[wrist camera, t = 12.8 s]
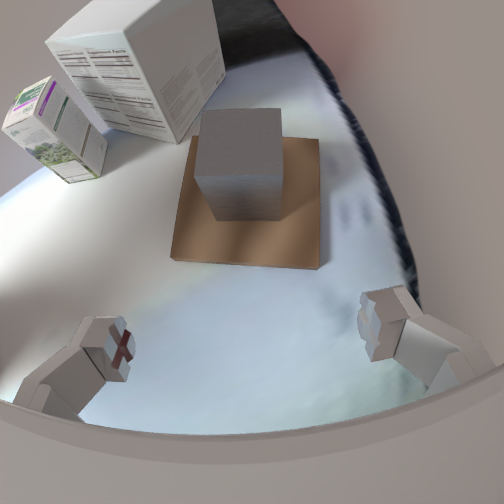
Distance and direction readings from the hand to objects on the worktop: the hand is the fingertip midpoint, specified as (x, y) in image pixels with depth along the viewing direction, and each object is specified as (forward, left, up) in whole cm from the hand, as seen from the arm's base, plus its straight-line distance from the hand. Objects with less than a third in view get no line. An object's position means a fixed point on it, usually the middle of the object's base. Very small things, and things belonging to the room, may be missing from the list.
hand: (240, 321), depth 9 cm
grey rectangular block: (-2, +12, -16) cm, 21 cm away
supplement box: (-15, +27, -18) cm, 36 cm away
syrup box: (-24, +17, -18) cm, 35 cm away
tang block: (-2, +12, -18) cm, 22 cm away
